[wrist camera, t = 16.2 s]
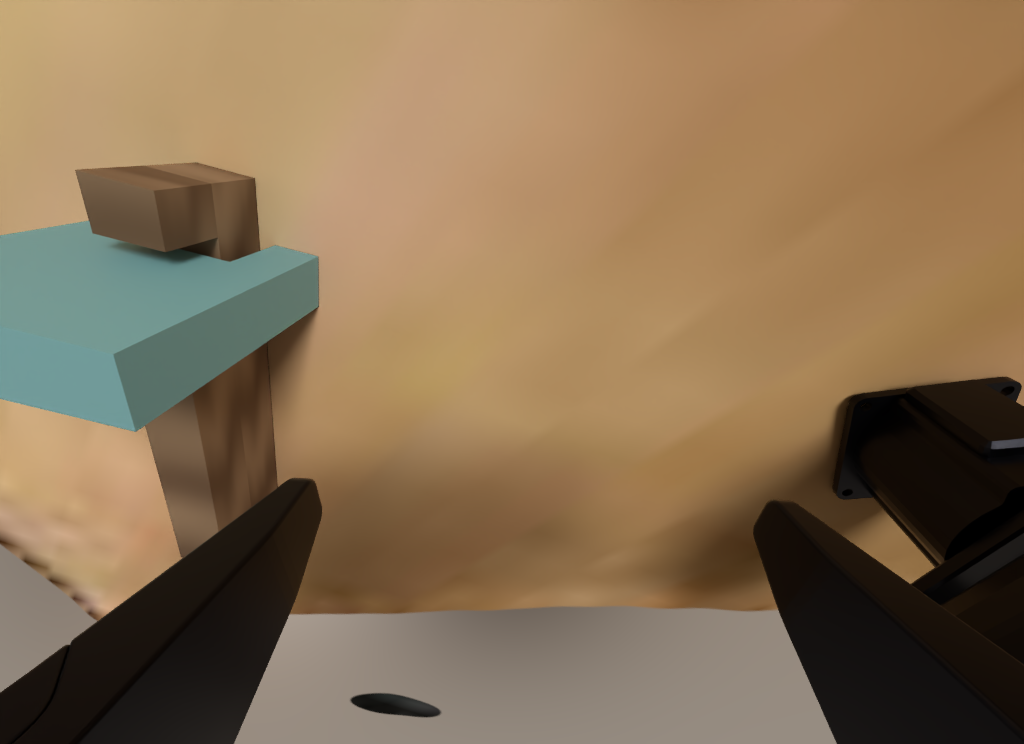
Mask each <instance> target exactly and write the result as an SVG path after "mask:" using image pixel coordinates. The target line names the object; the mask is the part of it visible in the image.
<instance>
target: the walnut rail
mask: <svg viewBox="0 0 1024 744" xmlns="http://www.w3.org/2000/svg"><path fill="white" fill-rule="evenodd" d="M75 171H76V175H77V178H78V182H79V186H80V189H81V193H82V197H83V200H84V204H85V208H86V211H87V215H88V219H89V222H90V226H91V230H92V233H93V234H97V235H101V236H105V237H109V238H112V239H116V240H120V241H124V242H128V243H132V244H135V245H139V246H143V247H147V248H151V249H155V250H158V251H162V252H168V251H172V250H175V249H181V250H185V251H189V252H193V253H197V254H201V255H205V256H209V257H212V258H216V259H220V260H224V261H228V262H231V261H234V260H236V259H239V258H242V257H245V256H247V255H250V254H253V253H256V252H258V251H260V245H259V232H258V218H257V205H256V191H255V178H251V177H248V176H244V175H240V174H237V173H233V172H229V171H225V170H222V169H218V168H214V167H210V166H207V165H203V164H199V163H182V164H165V165H148V166H131V167H115V168H98V169H81V170H75ZM145 427H146V430H147V434H148V438H149V441H150V445H151V449H152V452H153V456H154V460H155V463H156V467H157V470H158V474H159V478H160V481H161V485H162V489H163V492H164V496H165V500H166V503H167V507H168V511H169V514H170V518H171V522H172V525H173V529H174V533H175V536H176V540H177V543H178V547H179V551H180V554H181V557H183V558H184V557H185V556H186V555H188V554H189V553H190V552H192V551H193V550H194V549H196V548H197V547H198V546H200V545H201V544H202V543H204V542H205V541H206V540H208V539H209V538H211V537H212V536H213V535H215V534H216V533H217V532H219V531H220V530H221V529H223V528H224V527H225V526H227V525H228V524H229V523H231V522H232V521H233V520H235V519H236V518H237V517H239V516H240V515H242V514H243V513H244V512H246V511H247V510H248V509H250V508H251V507H252V506H254V505H255V504H256V503H258V502H259V501H260V500H262V499H263V498H264V497H266V496H267V495H268V494H270V493H271V492H273V491H274V490H275V489H277V475H276V462H275V448H274V435H273V421H272V408H271V394H270V381H269V367H268V354H267V342H266V343H265V344H263V345H262V346H260V347H259V348H257V349H256V350H254V351H253V352H251V353H250V354H249V355H247V356H246V357H244V358H243V359H241V360H240V361H238V362H237V363H235V364H234V365H232V366H231V367H230V368H228V369H227V370H225V371H224V372H222V373H221V374H219V375H218V376H216V377H215V378H214V379H212V380H211V381H209V382H208V383H206V384H205V385H203V386H202V387H200V388H199V389H197V390H196V391H195V392H193V393H192V394H190V395H189V396H187V397H186V398H184V399H183V400H181V401H180V402H179V403H177V404H176V405H174V406H173V407H171V408H170V409H168V410H167V411H165V412H164V413H162V414H161V415H160V416H158V417H157V418H155V419H154V420H152V421H151V422H149V423H148V424H146V425H145Z"/></svg>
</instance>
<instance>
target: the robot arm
mask: <svg viewBox="0 0 1024 744" xmlns="http://www.w3.org/2000/svg"><path fill="white" fill-rule="evenodd" d="M1021 387H1022V386H1021V384H1020V383H1019V382H1017V381H1015V380H1013V379H1011V378H1009V377H997V378H988V379H980V380H968V381H959V382H951V383H942V384H934V385H926V386H917V387H913V388H904V389H896V390H887V391H879V392H871V393H862V394H858V395H856V396H854V397H853V398H852V399H851V400H850V401H849V404H848V409H847V414H846V419H845V425H844V430H843V435H842V440H841V446H840V451H839V456H838V461H837V467H836V472H835V477H834V482H833V491H834V493H835V494H836V495H837V496H838V498H840V499H858V498H871V497H873V498H874V499H875V500H876V501H877V502H878V503H879V504H880V506H881V507H882V508H883V509H884V510H885V511H886V512H887V513H888V515H889V516H890V517H891V518H892V519H893V520H894V521H895V523H896V524H897V525H898V526H899V527H900V528H901V529H902V530H903V532H904V533H905V534H906V535H907V536H908V537H909V538H910V539H911V541H912V542H913V543H914V544H915V545H916V546H917V547H918V549H919V550H920V551H921V552H922V553H923V554H924V555H925V556H926V558H927V559H928V560H929V561H930V562H931V563H932V564H933V566H934V567H935V568H934V569H932V570H931V571H929V572H928V573H926V574H925V575H923V576H922V577H920V578H919V579H917V580H916V581H914V582H913V583H911V584H909V583H908V582H907V581H905V580H904V579H902V578H901V577H899V576H898V575H897V574H895V573H894V572H892V571H891V570H890V569H888V568H887V567H885V566H884V565H883V564H881V563H880V562H878V561H877V560H876V559H874V558H873V557H871V556H870V555H868V554H867V553H866V552H864V551H863V550H861V549H860V548H859V547H857V546H856V545H854V544H853V543H852V542H850V541H849V540H847V539H846V538H845V537H843V536H842V535H840V534H839V533H837V532H836V531H835V530H833V529H832V528H830V527H829V526H828V525H826V524H825V523H823V522H822V521H821V520H819V519H818V518H816V517H815V516H814V515H812V514H811V513H809V512H808V511H806V510H805V509H804V508H802V507H801V506H799V505H798V504H796V503H795V502H793V501H789V500H770V501H768V502H767V503H766V505H765V507H764V509H763V510H762V512H761V514H760V516H759V517H758V519H757V521H756V523H755V525H754V529H753V534H754V539H755V542H756V545H757V548H758V551H759V554H760V557H761V560H762V563H763V566H764V569H765V572H766V575H767V578H768V581H769V584H770V587H771V590H772V593H773V596H774V599H775V602H776V605H777V607H778V610H779V613H780V615H781V618H782V620H783V623H784V625H785V627H786V630H787V632H788V634H789V637H790V639H791V641H792V643H793V646H794V648H795V650H796V652H797V655H798V657H799V659H800V661H801V663H802V666H803V668H804V670H805V672H806V675H807V677H808V679H809V682H810V684H811V686H812V688H813V691H814V693H815V695H816V697H817V700H818V702H819V704H820V706H821V709H822V711H823V713H824V716H825V718H826V720H827V722H828V725H829V727H830V729H831V731H832V734H833V736H834V738H835V740H836V742H837V744H1024V406H1022V405H1020V404H1018V403H1017V402H1016V401H1017V398H1018V396H1019V393H1020V391H1021ZM863 403H866V404H865V405H863V406H861V405H862V404H863ZM321 516H322V506H321V502H320V498H319V494H318V490H317V486H316V483H315V481H314V480H313V479H307V478H292V479H289V480H288V481H286V482H285V483H283V484H282V485H281V486H279V487H278V488H277V489H275V490H274V491H273V492H271V493H270V494H268V495H267V496H266V497H264V498H263V499H262V500H260V501H259V502H258V503H256V504H255V505H254V506H252V507H251V508H250V509H248V510H247V511H246V512H244V513H243V514H242V515H240V516H239V517H237V518H236V519H235V520H233V521H232V522H231V523H229V524H228V525H227V526H225V527H224V528H223V529H221V530H220V531H219V532H217V533H216V534H215V535H213V536H212V537H211V538H209V539H208V540H206V541H205V542H204V543H202V544H201V545H200V546H198V547H197V548H196V549H194V550H193V551H192V552H190V553H189V554H188V555H186V556H185V557H184V558H182V559H181V560H180V561H178V562H177V563H175V564H174V565H173V566H171V567H170V568H169V569H167V570H166V571H165V572H163V573H162V574H161V575H159V576H158V577H157V578H155V579H154V580H153V581H151V582H150V583H149V584H147V585H146V586H144V587H143V588H142V589H140V590H139V591H138V592H136V593H135V594H134V595H132V596H131V597H130V598H128V599H127V600H126V601H124V602H123V603H122V604H120V605H119V606H118V607H116V608H115V609H113V610H112V611H111V612H109V613H108V614H107V615H105V616H104V617H103V618H101V619H100V620H99V621H97V622H96V623H95V624H93V625H92V626H91V627H89V628H88V629H87V630H85V631H84V632H82V633H81V634H80V635H78V636H77V637H76V638H74V639H73V640H72V642H71V644H70V645H65V646H63V647H62V648H61V649H59V650H58V651H57V652H55V653H54V654H53V655H51V656H50V657H49V658H47V659H46V660H44V661H43V662H42V663H41V664H39V665H38V666H36V667H35V668H34V669H32V670H31V671H30V672H29V673H27V674H26V675H24V676H23V677H21V678H20V679H18V680H17V681H16V682H14V683H13V684H12V685H10V686H9V687H7V688H6V689H5V690H3V691H2V692H0V744H234V742H235V739H236V737H237V735H238V733H239V730H240V728H241V726H242V723H243V721H244V719H245V716H246V714H247V712H248V709H249V707H250V705H251V702H252V700H253V698H254V695H255V693H256V691H257V688H258V686H259V684H260V681H261V679H262V677H263V674H264V672H265V670H266V667H267V665H268V663H269V660H270V658H271V655H272V653H273V651H274V649H275V646H276V644H277V642H278V639H279V637H280V635H281V633H282V630H283V628H284V626H285V623H286V621H287V619H288V616H289V614H290V612H291V609H292V607H293V604H294V602H295V599H296V596H297V594H298V591H299V588H300V585H301V581H302V578H303V575H304V572H305V569H306V565H307V562H308V559H309V556H310V553H311V549H312V546H313V543H314V540H315V537H316V533H317V530H318V527H319V524H320V521H321Z"/></svg>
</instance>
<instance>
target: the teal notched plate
mask: <svg viewBox="0 0 1024 744" xmlns="http://www.w3.org/2000/svg"><path fill="white" fill-rule="evenodd" d="M317 307H319V306H318V256H314V255H310V254H307V253H303V252H299V251H295V250H291V249H287V248H284V247H280V246H276V245H275V246H272V247H269V248H267V249H264V250H261V251H258V252H256V253H253V254H250V255H247V256H245V257H242V258H239V259H236V260H234V261H231V262H228V261H224V260H220V259H216V258H212V257H209V256H205V255H201V254H197V253H193V252H189V251H185V250H181V249H175V250H172V251H168V252H162V251H158V250H155V249H151V248H147V247H143V246H139V245H135V244H132V243H128V242H124V241H120V240H116V239H112V238H109V237H105V236H101V235H97V234H93V233H92V230H91V226H90V222H89V221H84V222H79V223H73V224H67V225H61V226H55V227H49V228H43V229H37V230H31V231H25V232H19V233H13V234H7V235H1V236H0V399H3V400H7V401H11V402H15V403H20V404H24V405H28V406H32V407H36V408H40V409H44V410H48V411H52V412H56V413H61V414H65V415H69V416H73V417H77V418H81V419H85V420H89V421H93V422H98V423H102V424H106V425H110V426H114V427H118V428H122V429H126V430H130V431H134V432H136V431H138V430H139V429H141V428H142V427H144V426H145V425H146V424H148V423H149V422H151V421H152V420H154V419H155V418H157V417H158V416H160V415H161V414H162V413H164V412H165V411H167V410H168V409H170V408H171V407H173V406H174V405H176V404H177V403H179V402H180V401H181V400H183V399H184V398H186V397H187V396H189V395H190V394H192V393H193V392H195V391H196V390H197V389H199V388H200V387H202V386H203V385H205V384H206V383H208V382H209V381H211V380H212V379H214V378H215V377H216V376H218V375H219V374H221V373H222V372H224V371H225V370H227V369H228V368H230V367H231V366H232V365H234V364H235V363H237V362H238V361H240V360H241V359H243V358H244V357H246V356H247V355H249V354H250V353H251V352H253V351H254V350H256V349H257V348H259V347H260V346H262V345H263V344H265V343H266V342H267V341H269V340H270V339H272V338H273V337H275V336H276V335H278V334H279V333H281V332H282V331H284V330H285V329H286V328H288V327H289V326H291V325H292V324H294V323H295V322H297V321H298V320H300V319H301V318H303V317H304V316H305V315H307V314H308V313H310V312H311V311H313V310H314V309H316V308H317Z"/></svg>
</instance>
